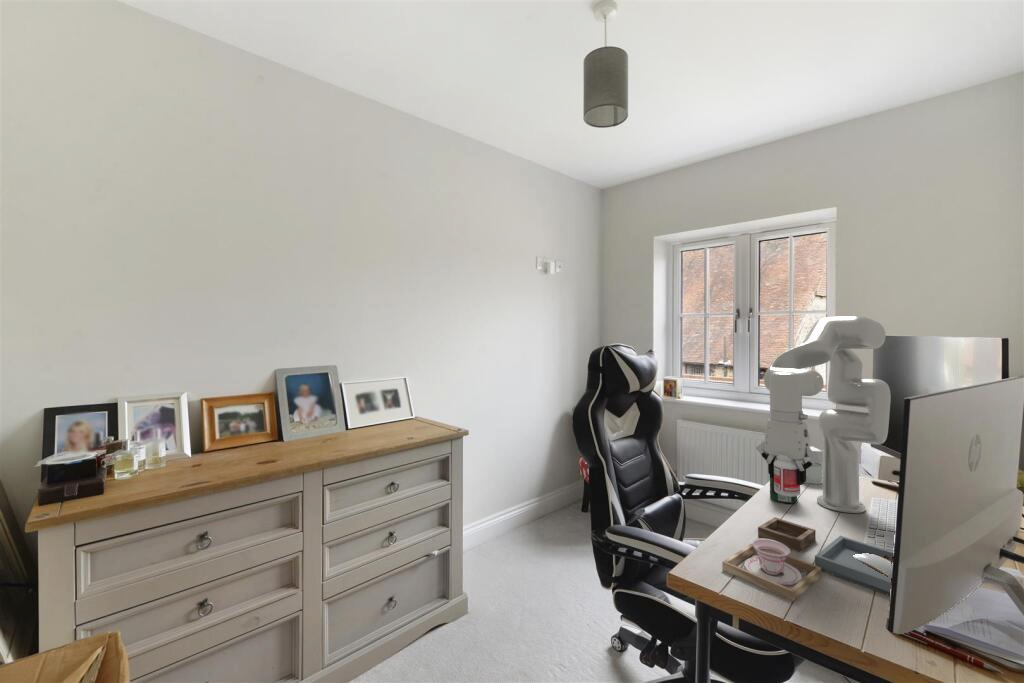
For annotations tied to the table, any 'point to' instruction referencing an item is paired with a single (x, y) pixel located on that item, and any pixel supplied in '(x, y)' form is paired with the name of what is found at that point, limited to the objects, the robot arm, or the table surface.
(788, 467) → the pill bottle
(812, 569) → the light wooden frame
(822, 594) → the table surface
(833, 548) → the slate tray
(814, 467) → the supplement box
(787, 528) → the walnut collar
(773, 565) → the teacup
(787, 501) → the coffee jar
